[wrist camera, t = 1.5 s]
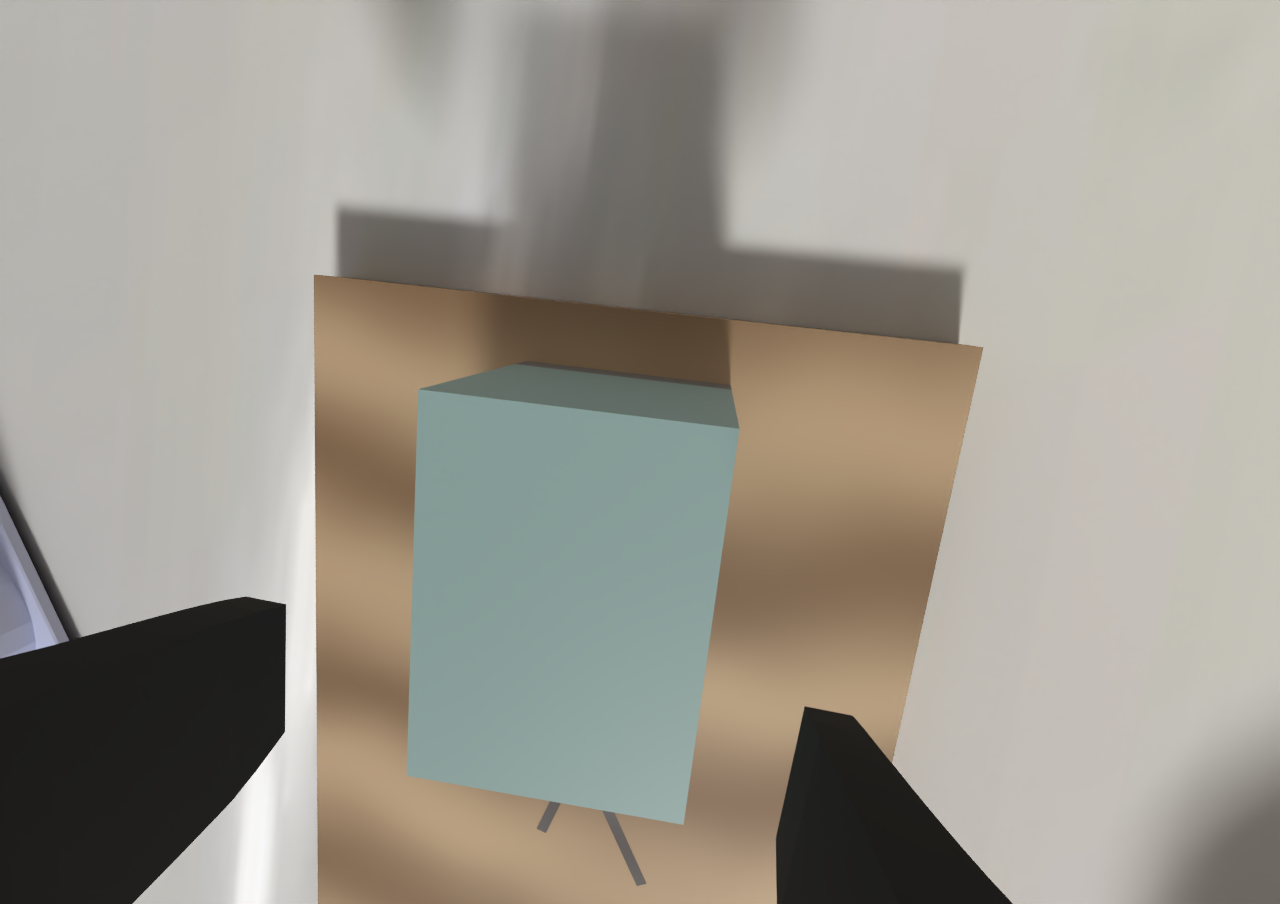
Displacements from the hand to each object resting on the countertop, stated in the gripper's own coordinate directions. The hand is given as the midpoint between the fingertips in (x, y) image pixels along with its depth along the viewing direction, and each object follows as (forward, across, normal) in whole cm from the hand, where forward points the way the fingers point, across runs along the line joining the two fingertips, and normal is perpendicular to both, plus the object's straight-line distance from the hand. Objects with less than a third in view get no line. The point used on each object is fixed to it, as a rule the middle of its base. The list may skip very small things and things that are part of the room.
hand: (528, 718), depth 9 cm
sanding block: (+8, 0, 0) cm, 8 cm away
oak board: (+10, 0, +7) cm, 12 cm away
